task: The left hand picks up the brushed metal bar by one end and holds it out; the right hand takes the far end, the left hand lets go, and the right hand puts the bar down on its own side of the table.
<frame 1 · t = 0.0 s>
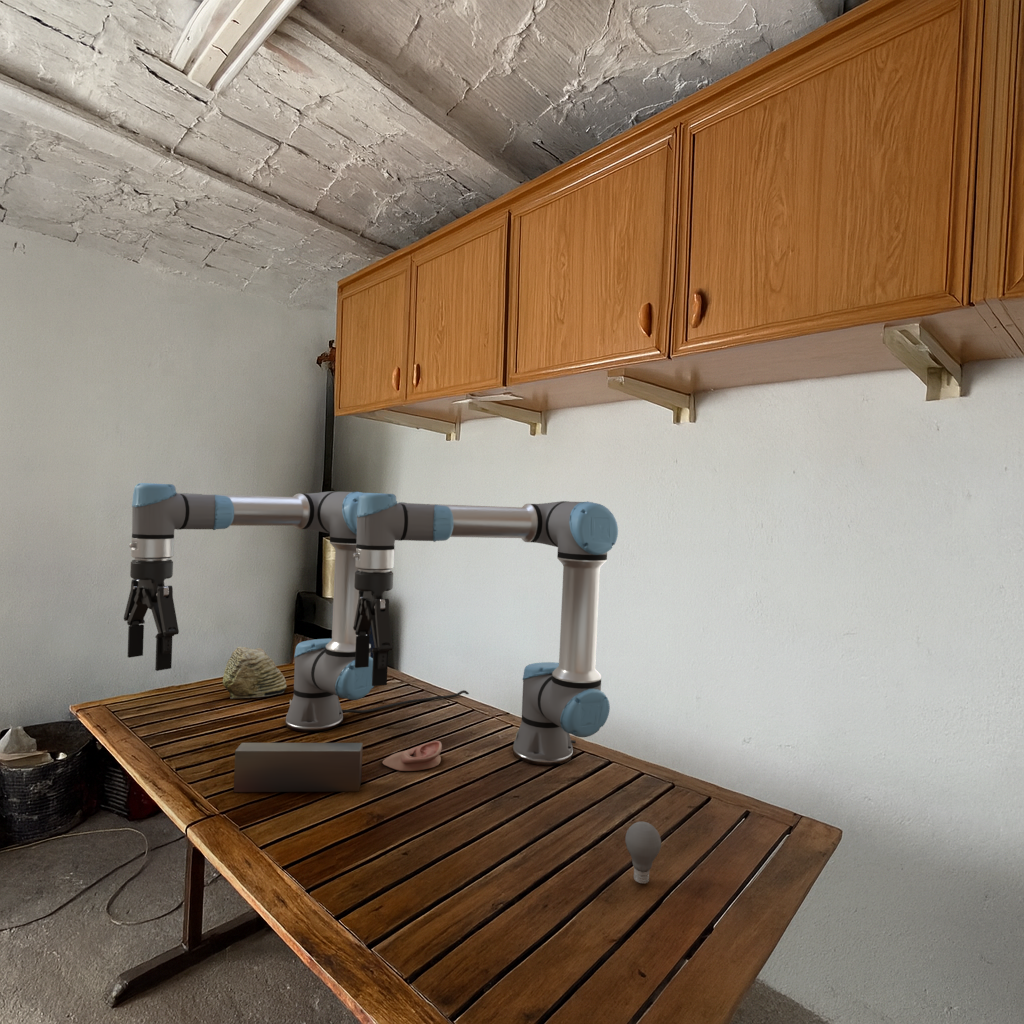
left hand: (148, 662, 129), 28 cm above the table, tool pointing down, fingers open, 13 cm apart
right hand: (370, 675, 127), 28 cm above the table, tool pointing down, fingers open, 13 cm apart
anatomical model: (412, 762, 153), on the table
fossil: (254, 694, 198), on the table
light bulb: (641, 882, 108), on the table
bar: (299, 787, 138), on the table
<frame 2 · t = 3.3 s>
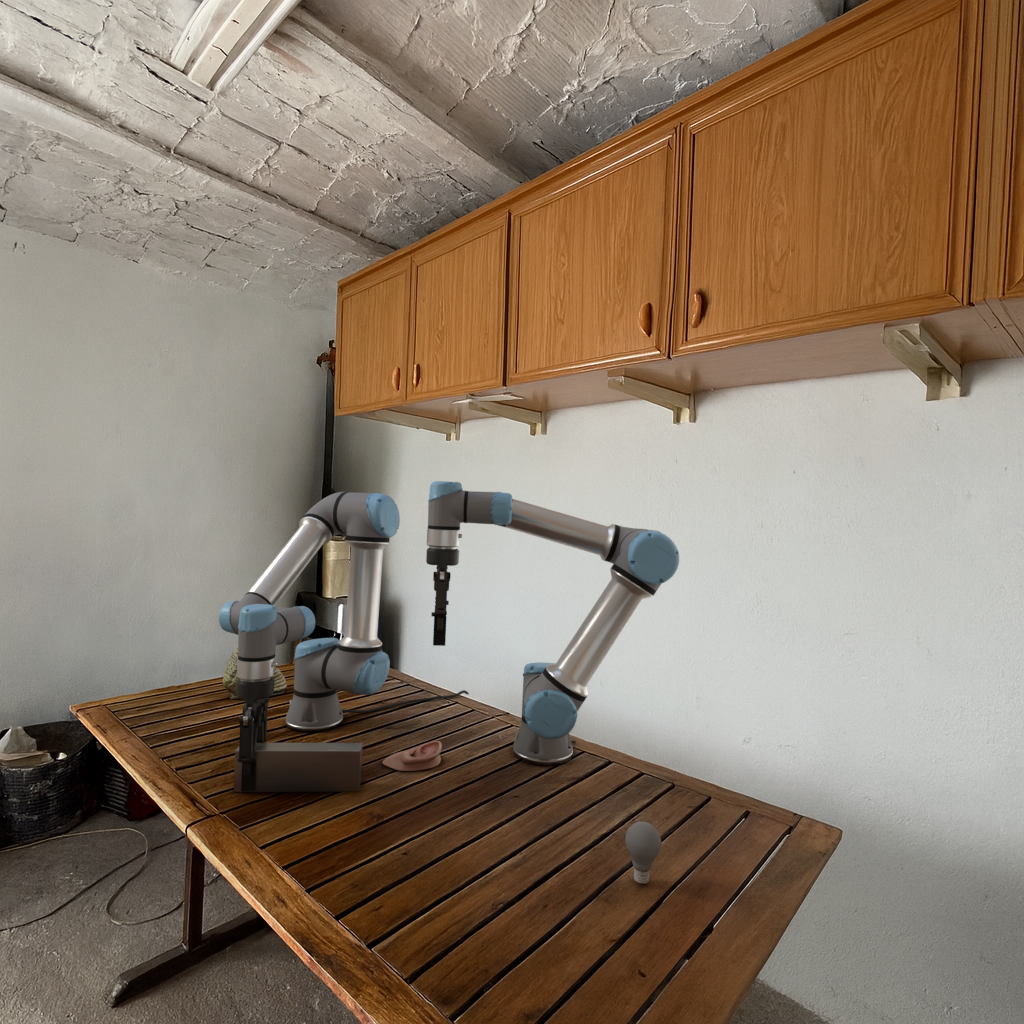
left hand: (251, 784, 137), 1 cm above the table, tool pointing down, fingers closed on bar, 5 cm apart
right hand: (439, 638, 148), 31 cm above the table, tool pointing down, fingers open, 13 cm apart
bar: (299, 787, 138), on the table, touching left hand
everything else where it was.
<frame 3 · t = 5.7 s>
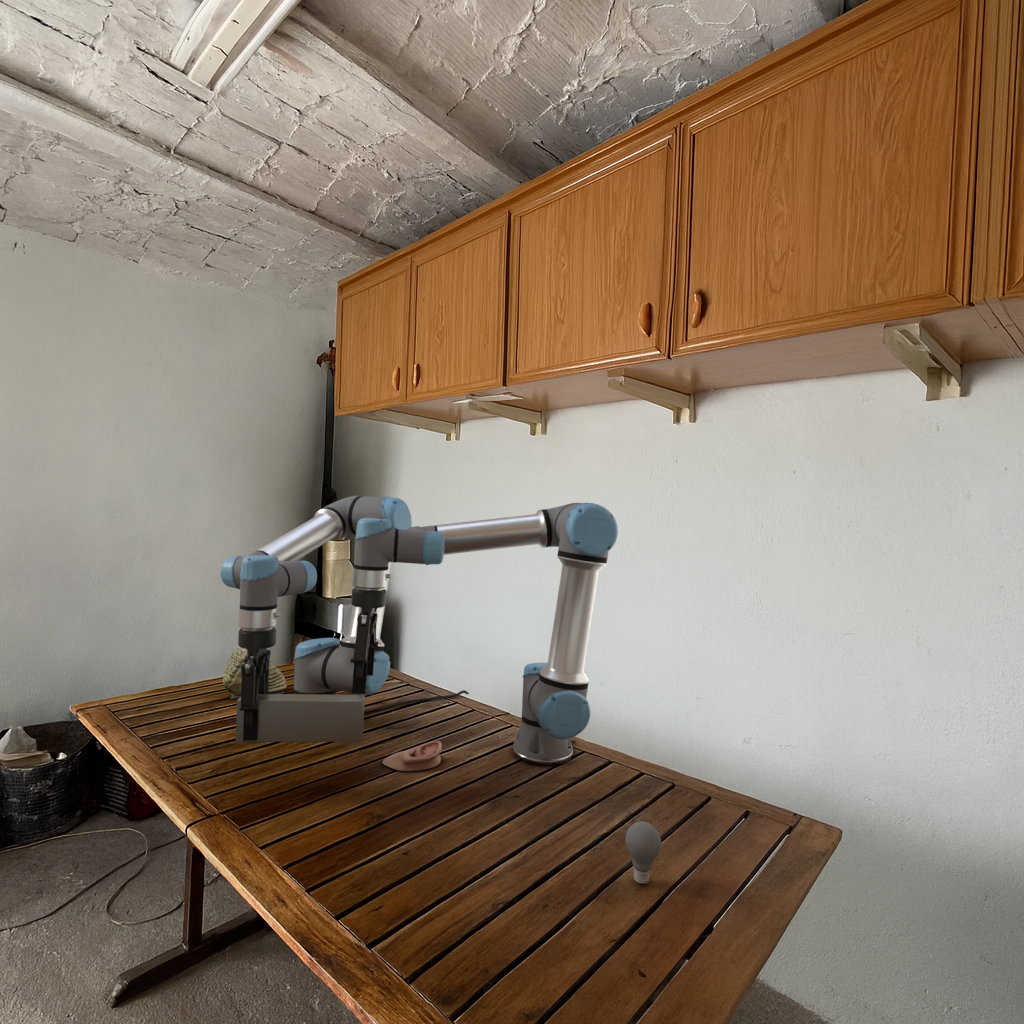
left hand: (253, 735, 136), 11 cm above the table, tool pointing down, fingers closed on bar, 5 cm apart
right hand: (363, 683, 140), 22 cm above the table, tool pointing down, fingers open, 13 cm apart
bar: (300, 738, 138), point 11 cm above the table, touching left hand
everything else where it was.
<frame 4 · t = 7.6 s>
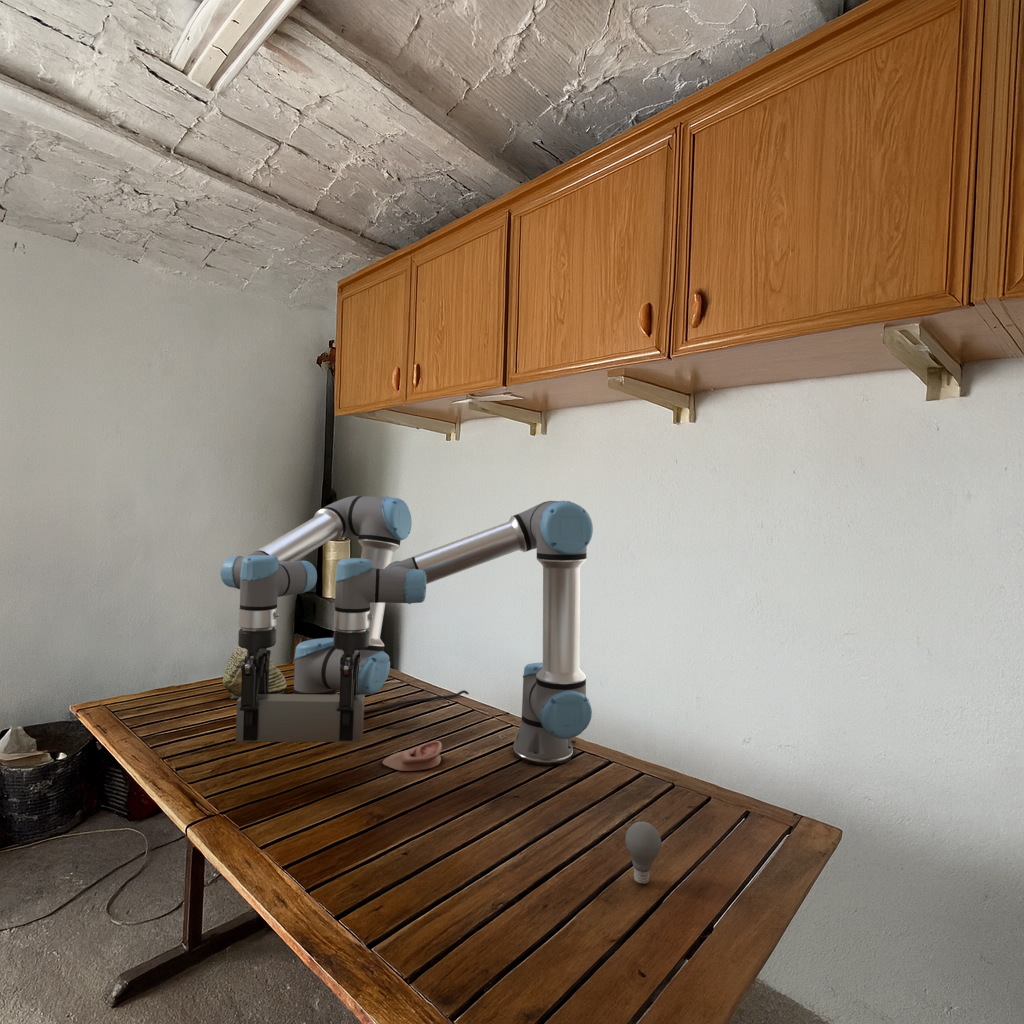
left hand: (253, 735, 136), 11 cm above the table, tool pointing down, fingers closed on bar, 5 cm apart
right hand: (347, 735, 139), 11 cm above the table, tool pointing down, fingers closed on bar, 5 cm apart
bar: (300, 738, 138), point 11 cm above the table, touching left hand, right hand
everything else where it was.
when the left hand's fingers open (11 cm above the table, at t = 8.3 s): bar stays where it is, held by the right hand.
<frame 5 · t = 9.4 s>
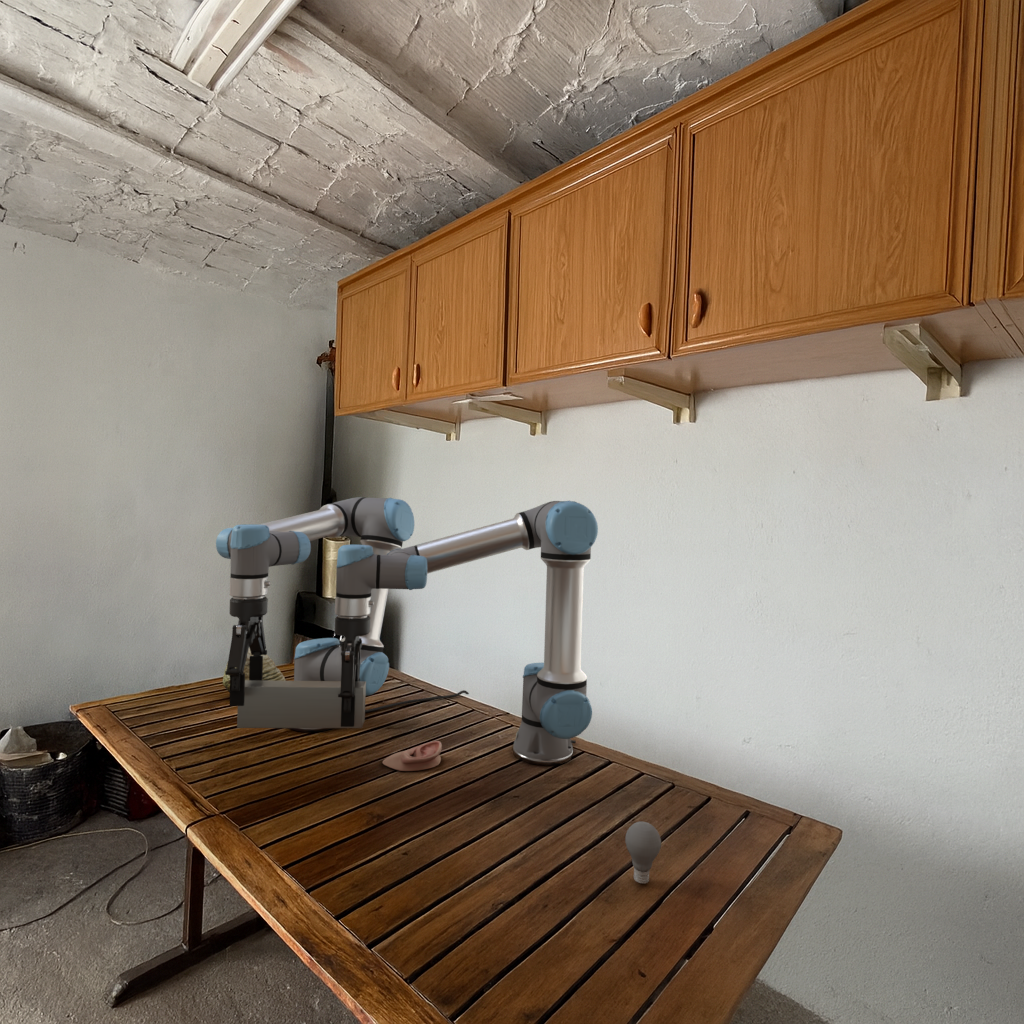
left hand: (246, 694, 136), 20 cm above the table, tool pointing down, fingers open, 13 cm apart
right hand: (349, 721, 138), 14 cm above the table, tool pointing down, fingers closed on bar, 5 cm apart
bar: (302, 724, 137), point 14 cm above the table, touching right hand
everything else where it was.
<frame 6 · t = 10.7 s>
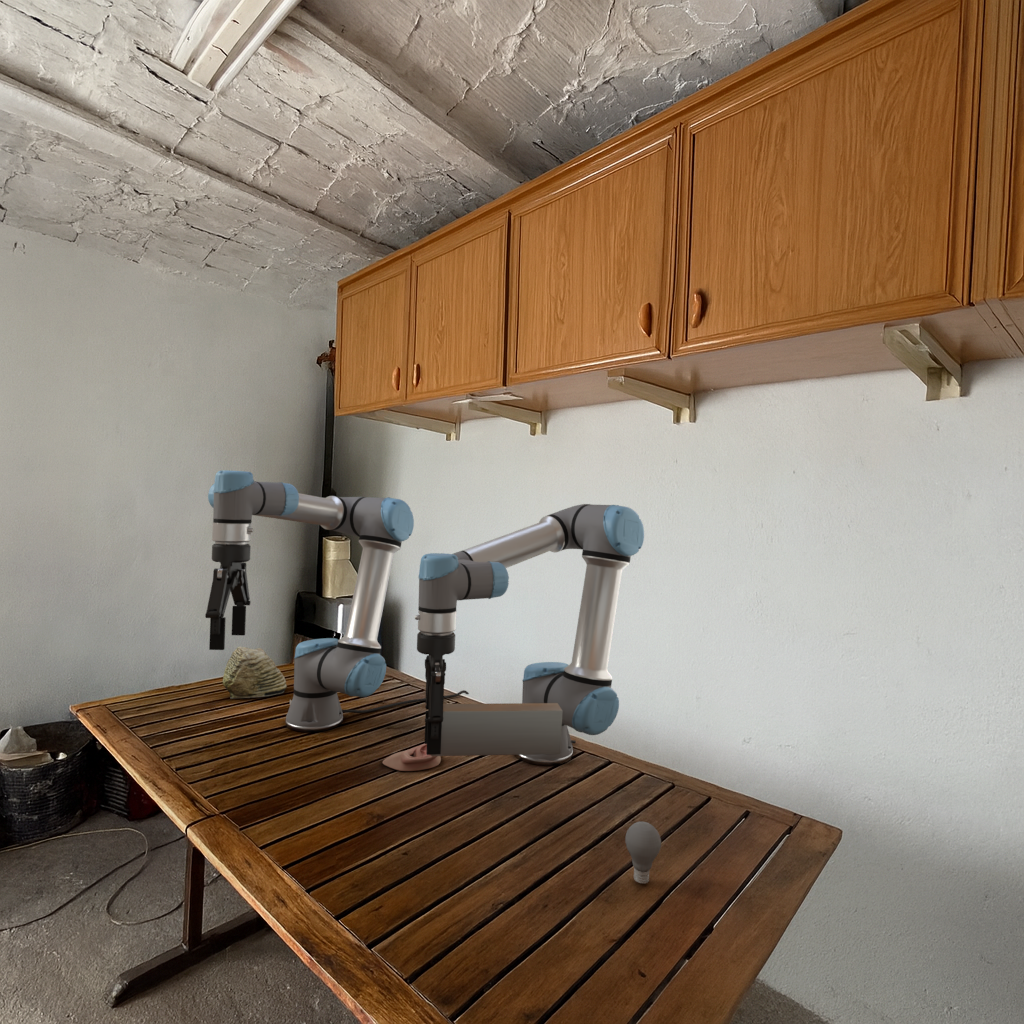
left hand: (228, 642, 135), 31 cm above the table, tool pointing down, fingers open, 13 cm apart
right hand: (432, 747, 126), 14 cm above the table, tool pointing down, fingers closed on bar, 5 cm apart
bar: (495, 750, 128), point 14 cm above the table, touching right hand
everything else where it was.
when the right hand's fingers open (2 cm above the table, at t = 13.8 s): bar drops 1 cm, on the table.
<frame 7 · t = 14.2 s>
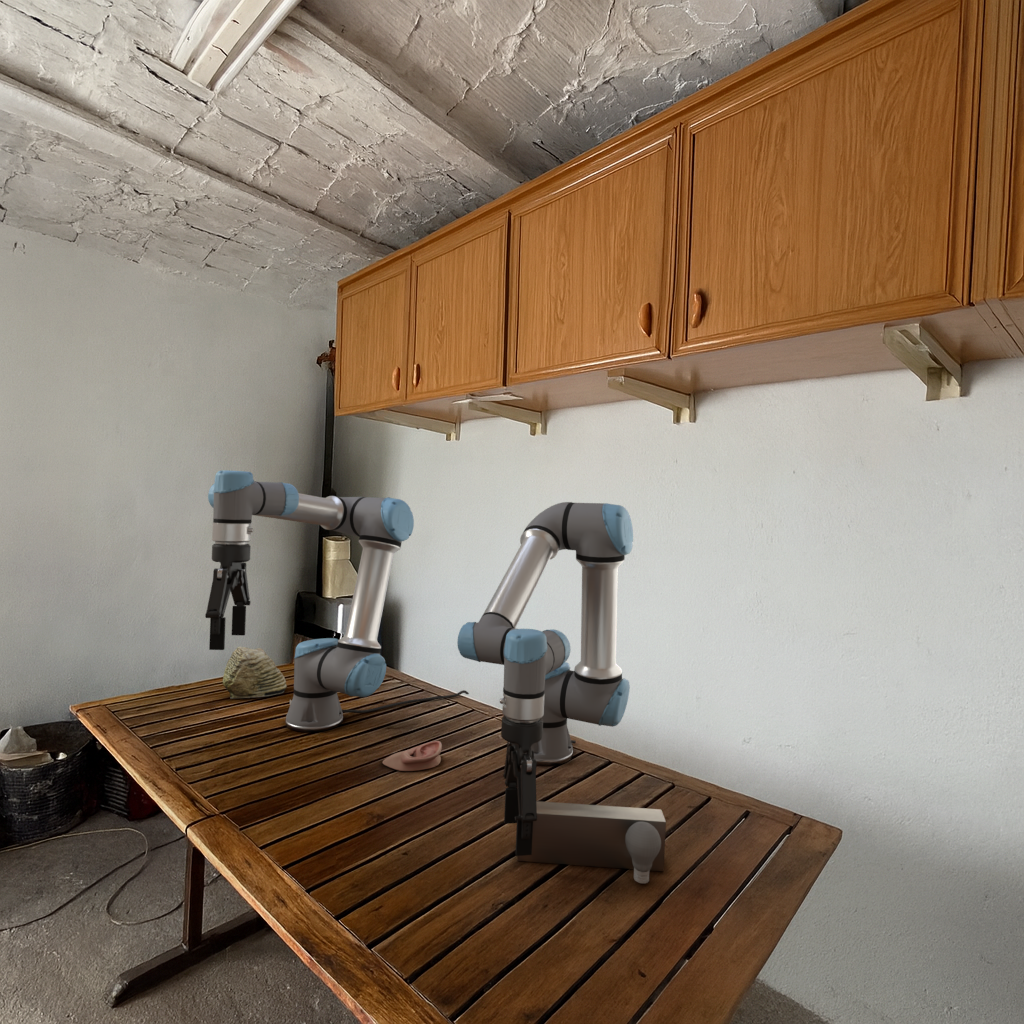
left hand: (228, 642, 135), 31 cm above the table, tool pointing down, fingers open, 13 cm apart
right hand: (517, 837, 115), 3 cm above the table, tool pointing down, fingers open, 10 cm apart
bar: (589, 859, 115), on the table
everything else where it was.
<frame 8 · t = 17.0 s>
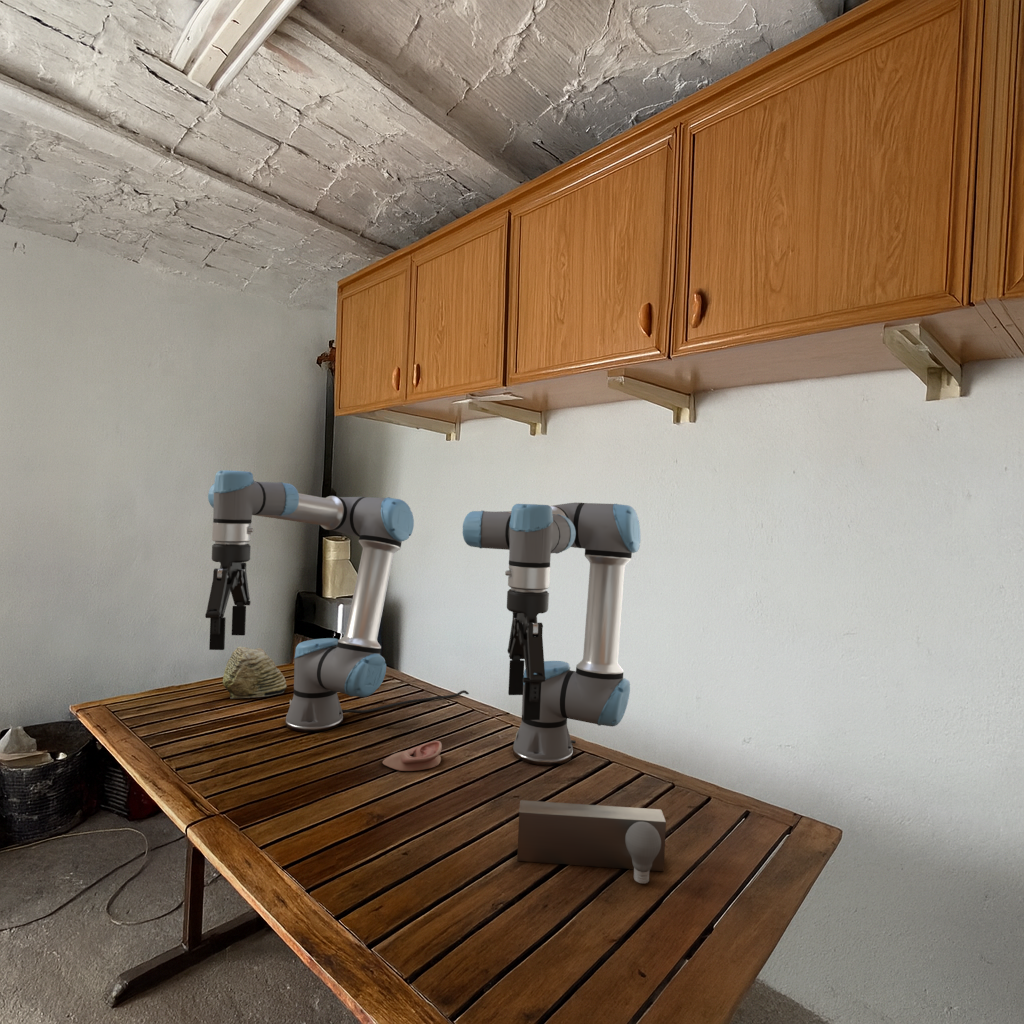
left hand: (228, 642, 135), 31 cm above the table, tool pointing down, fingers open, 13 cm apart
right hand: (523, 706, 115), 27 cm above the table, tool pointing down, fingers open, 13 cm apart
nothing on the table moved.
at the end: bar inside the target area (13.2 cm from its centre), on the table; the left hand is holding nothing; the right hand is holding nothing; bar at rest at the end (0.0 cm/s) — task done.
